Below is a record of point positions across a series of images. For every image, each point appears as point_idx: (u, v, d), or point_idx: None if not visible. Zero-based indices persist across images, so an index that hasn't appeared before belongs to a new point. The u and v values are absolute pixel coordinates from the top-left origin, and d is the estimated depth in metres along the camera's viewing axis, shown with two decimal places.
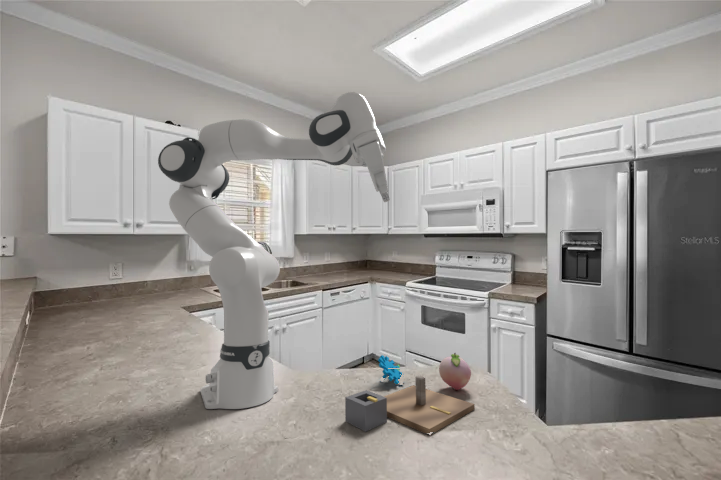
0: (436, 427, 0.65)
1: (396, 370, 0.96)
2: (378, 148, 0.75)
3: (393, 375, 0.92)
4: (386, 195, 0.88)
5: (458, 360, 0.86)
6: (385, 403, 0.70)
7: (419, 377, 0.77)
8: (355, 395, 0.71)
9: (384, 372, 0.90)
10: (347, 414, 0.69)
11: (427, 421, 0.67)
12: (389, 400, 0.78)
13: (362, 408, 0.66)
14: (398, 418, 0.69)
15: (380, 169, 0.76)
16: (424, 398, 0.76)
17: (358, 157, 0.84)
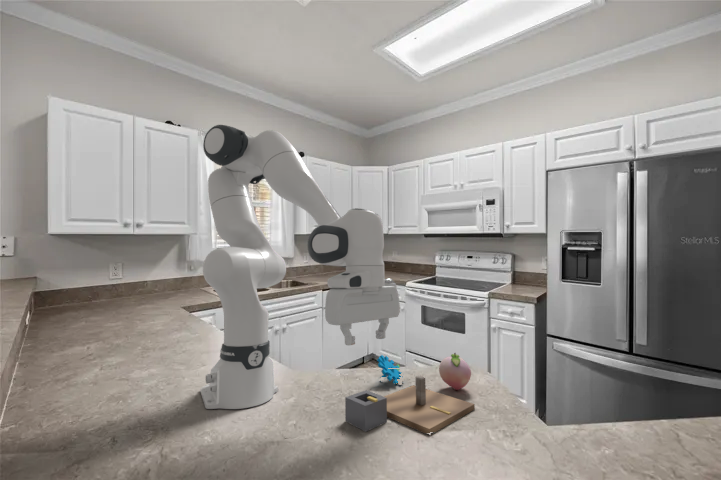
0: (436, 427, 0.65)
1: (395, 370, 0.96)
2: (337, 302, 0.65)
3: (392, 375, 0.92)
4: (379, 333, 0.74)
5: (458, 360, 0.86)
6: (385, 403, 0.70)
7: (419, 377, 0.77)
8: (355, 395, 0.71)
9: (383, 372, 0.91)
10: (347, 414, 0.69)
11: (427, 421, 0.67)
12: (389, 400, 0.78)
13: (362, 408, 0.66)
14: (398, 418, 0.69)
15: None
16: (424, 398, 0.76)
17: None
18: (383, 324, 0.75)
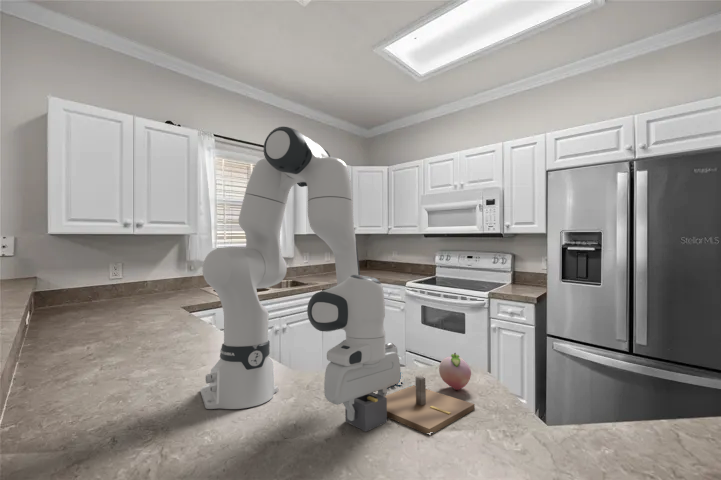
0: (436, 427, 0.65)
1: None
2: (336, 381, 0.63)
3: None
4: None
5: (458, 360, 0.86)
6: (385, 403, 0.70)
7: (419, 377, 0.77)
8: None
9: None
10: None
11: (427, 421, 0.67)
12: (389, 400, 0.78)
13: (362, 408, 0.66)
14: (398, 418, 0.69)
15: None
16: (424, 398, 0.76)
17: None
18: (381, 393, 0.73)
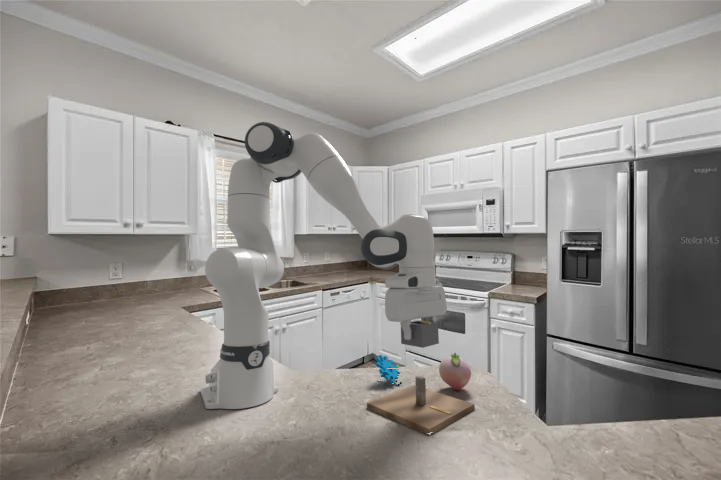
0: (436, 427, 0.65)
1: (394, 370, 0.96)
2: (398, 301, 0.71)
3: (390, 375, 0.92)
4: None
5: (458, 360, 0.86)
6: (437, 327, 0.78)
7: (419, 377, 0.77)
8: None
9: (380, 371, 0.91)
10: (403, 337, 0.77)
11: (427, 421, 0.67)
12: (389, 400, 0.78)
13: (418, 328, 0.74)
14: (398, 418, 0.69)
15: None
16: (424, 398, 0.76)
17: None
18: (431, 321, 0.81)
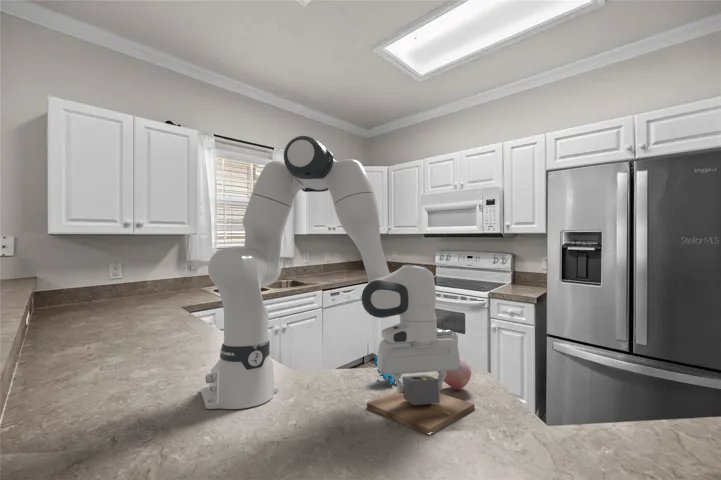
0: (436, 427, 0.65)
1: None
2: (383, 355, 0.74)
3: None
4: None
5: None
6: (436, 384, 0.74)
7: None
8: (412, 376, 0.79)
9: (379, 371, 0.91)
10: None
11: (427, 421, 0.67)
12: (389, 400, 0.78)
13: (410, 383, 0.74)
14: (398, 418, 0.69)
15: None
16: None
17: None
18: (441, 375, 0.78)
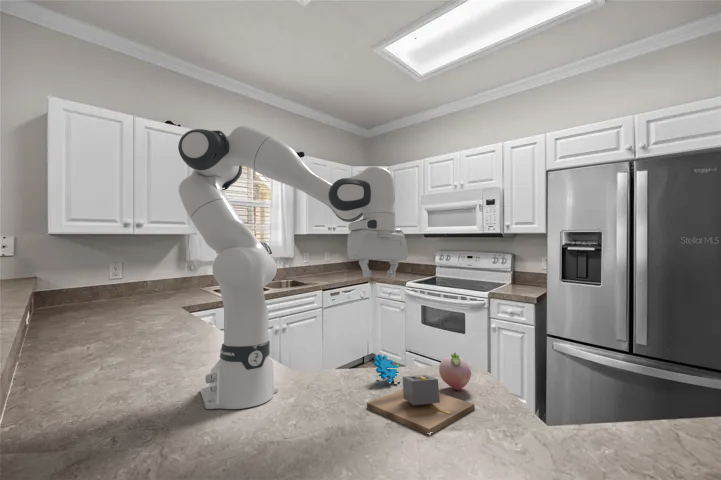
0: (436, 427, 0.65)
1: (393, 369, 0.96)
2: (357, 239, 0.79)
3: (387, 374, 0.93)
4: (390, 271, 0.89)
5: (458, 360, 0.86)
6: (436, 384, 0.74)
7: None
8: (412, 376, 0.79)
9: (377, 370, 0.92)
10: (404, 391, 0.78)
11: (427, 421, 0.67)
12: (389, 400, 0.78)
13: (410, 383, 0.74)
14: (398, 418, 0.69)
15: (357, 258, 0.80)
16: None
17: None
18: (393, 265, 0.90)
